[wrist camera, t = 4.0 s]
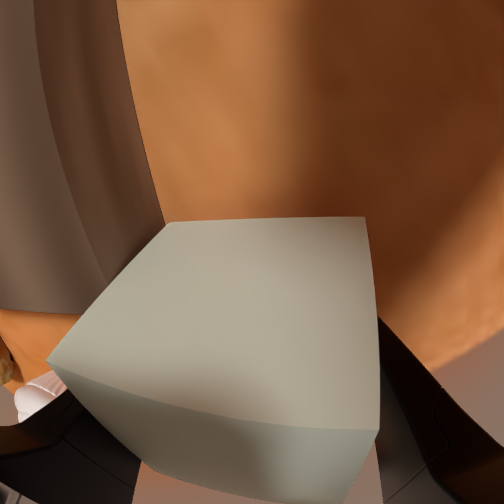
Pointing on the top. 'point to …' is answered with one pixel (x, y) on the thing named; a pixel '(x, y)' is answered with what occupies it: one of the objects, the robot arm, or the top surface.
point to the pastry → (5, 364)
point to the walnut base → (68, 156)
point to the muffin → (37, 394)
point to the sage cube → (238, 356)
